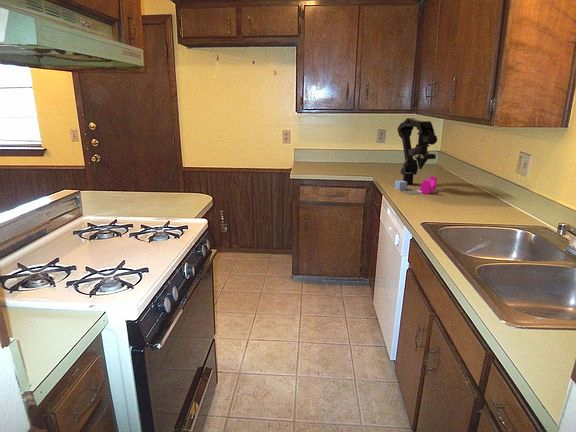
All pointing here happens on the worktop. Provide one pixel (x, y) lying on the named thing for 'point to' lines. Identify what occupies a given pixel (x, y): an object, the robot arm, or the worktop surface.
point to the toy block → (428, 185)
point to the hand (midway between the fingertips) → (420, 169)
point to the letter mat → (418, 191)
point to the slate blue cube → (401, 185)
